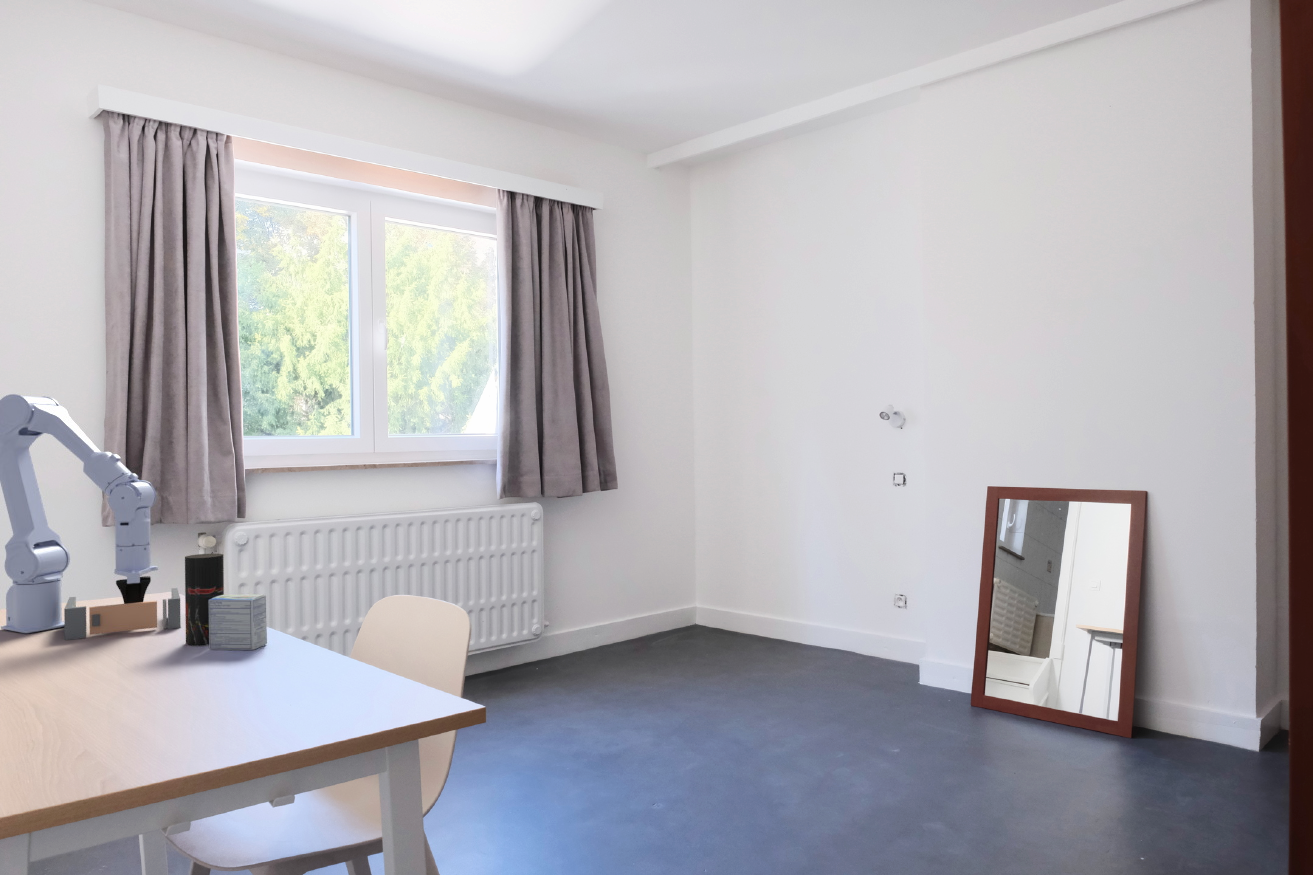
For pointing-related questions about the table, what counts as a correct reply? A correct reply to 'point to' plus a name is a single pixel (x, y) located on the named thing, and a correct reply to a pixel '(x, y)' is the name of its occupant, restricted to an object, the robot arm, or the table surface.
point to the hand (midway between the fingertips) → (133, 616)
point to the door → (123, 617)
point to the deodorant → (201, 594)
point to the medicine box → (237, 622)
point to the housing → (77, 616)
